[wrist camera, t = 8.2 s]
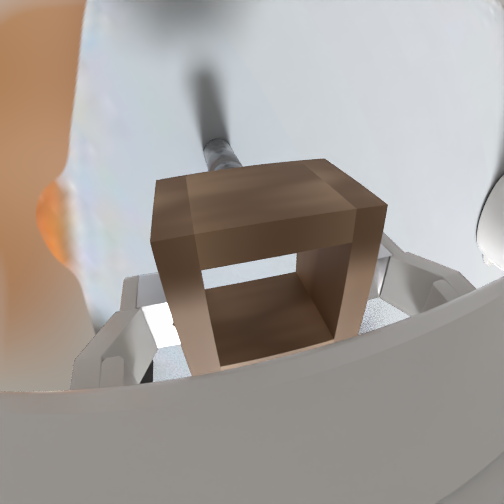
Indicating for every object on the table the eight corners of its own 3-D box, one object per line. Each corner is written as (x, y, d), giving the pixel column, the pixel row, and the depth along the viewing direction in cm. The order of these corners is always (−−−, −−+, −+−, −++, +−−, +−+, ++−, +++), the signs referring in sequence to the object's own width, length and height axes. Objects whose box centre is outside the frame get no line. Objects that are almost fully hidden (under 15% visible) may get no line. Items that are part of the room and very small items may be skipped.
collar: (324, 158, 11) (387, 204, 8) (315, 284, 14) (353, 348, 11) (156, 180, 10) (150, 241, 7) (185, 310, 13) (196, 387, 10)
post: (229, 137, 21) (248, 165, 16) (231, 162, 22) (250, 198, 17) (202, 140, 21) (211, 170, 16) (205, 166, 22) (215, 203, 17)
